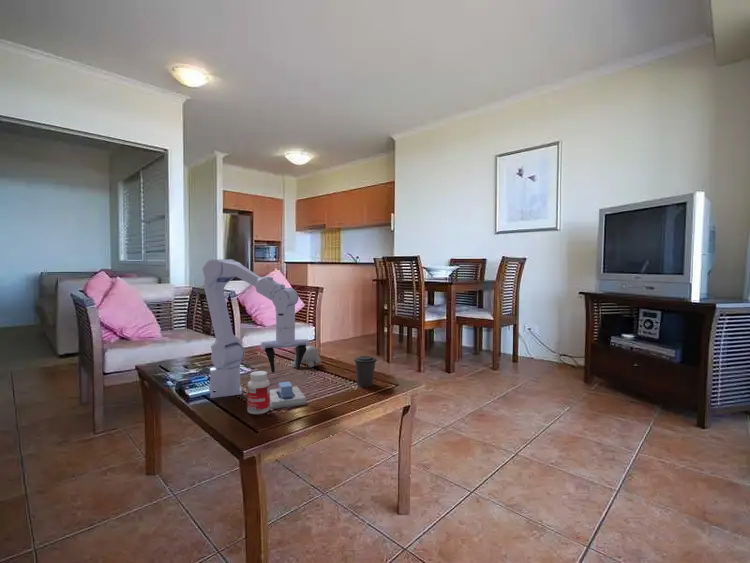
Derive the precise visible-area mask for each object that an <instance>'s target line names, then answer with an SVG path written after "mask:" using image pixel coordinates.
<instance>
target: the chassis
mask: <svg viewBox="0 0 750 563" xmlns="http://www.w3.org/2000/svg"><path fill="white" fill-rule="evenodd" d="M278 389H279V388H273V389H271V388H270V408H271V410H276V409H282V408H289V407H296V406H301V405H302V406H305V405H307V402H306V401H307V398H306V396H305V395H304V393H303V392H302V391H301V389H300V388H299V387H298V385H297V386H292V393H293V397H292V399H286V400H284V398H279V392H278Z"/></svg>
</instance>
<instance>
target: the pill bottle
mask: <svg viewBox="0 0 750 563" xmlns="http://www.w3.org/2000/svg"><path fill="white" fill-rule="evenodd" d="M249 374H250V375H249V378H250V380H249V381H248V382H247V402H246V404H247V405H246V406H247V409H246V410H247V412H248V413H249V414H251V415H262V414H265V413H267V412H269V411H270V408H271V406H270V390H271V388H270V387H271V382H270V380H269V379H267V378H268V372H267V371H265V370H257V371H252V372H250V373H249Z"/></svg>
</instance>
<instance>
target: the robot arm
mask: <svg viewBox="0 0 750 563" xmlns="http://www.w3.org/2000/svg"><path fill="white" fill-rule="evenodd" d="M202 271H203V277H204V283H203V287H204V292H205V293H204V294H205V297H206V302H207V306H208V311H209V315H210V320H211V323H212V328H213V332H214V336H215V340H214V341H213V343H212V345H211V346H210V348H211V356H210V360H211V363H212V364H213V366H214V367H213V366H212V367H210V368H209V373H210V374H209V377H210V378H209V380H210V381H209V383H210V384H209V385H208V390H209V394H210V395H209V396H210V398H211V399H215V398H223V397H232V396H240V395H242V394H243V390H242V387H241V364H242V360H244V358H245V354H246V353H245V352H246V351H245V348H244V347H243V344H242V343H241V341H240V338H239V337H238V336H236V335H234V332H233V328H232V327H233V326H232V322H231V318H230V314H229V310H228V305H227V302H226V301H227V300H226V296H225V293H224V288H225V287H226V285H227V284H229V283H230V282H231V281H232V280H234V278H235V277H236V278H238V279H240V280H241V281H243V282H245V283H247V284H250V285H252V286H254V287H255V291H256V293H257V294H260V295H261V296H263V297H265V298H267V300H270V301H272V304H273V305H274V307H275V340H268V341H261V342H260V350H262V351H263V350H264V352H265V354H266V356H267V359H268V362H269V365H270V372H271V373H276V372H275V370H276V369H275V349H285V348H295V354H296V367H295V369H296V371H300V367H301V365H302V364H301V361H302V358H303V356H304V354H305V352H306V347H307V346H310V339H308V338H305V339H299V338H298V339H297V338H296V330H295V329H296V305H297V303H298V301H299V294H298V292H297V290H295V289H294V288H292V287H286V285H285V284H284V283H281V284H280V283H279V282H277V281H275V280H274V277H272V276H266V275H265V276H263V277H261V276H259V275H258V274H257V273H255V272H253V271H252V270H250V269H248V267H245V265H243V264H242V263H241V262H239V261H236V260H235V259H232V258H231V259H230V258H229V259H222V258H221V259H220V258H219V259H218V258H210V259H208V260H207V261H206V263H205V264H204V265H203V267H202ZM295 338H296V339H295ZM214 390H216V391H214Z"/></svg>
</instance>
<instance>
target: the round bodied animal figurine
mask: <svg viewBox="0 0 750 563" xmlns="http://www.w3.org/2000/svg"><path fill="white" fill-rule="evenodd" d="M290 362H291V365H292V366H293V367H294V368H296V353H295V355H294V360H293V361H292V360H290ZM304 362H305V363H307V366H308V368H310V369H311V368H314V366H316V365H317V366H318V365H319V364H322V359H321V357H320V354H319V350H318V348H317V347H316V346H313V345H309V346H306V352H305V354H304V356H303V358H302V361H301V364H300V365H303V363H304Z"/></svg>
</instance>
